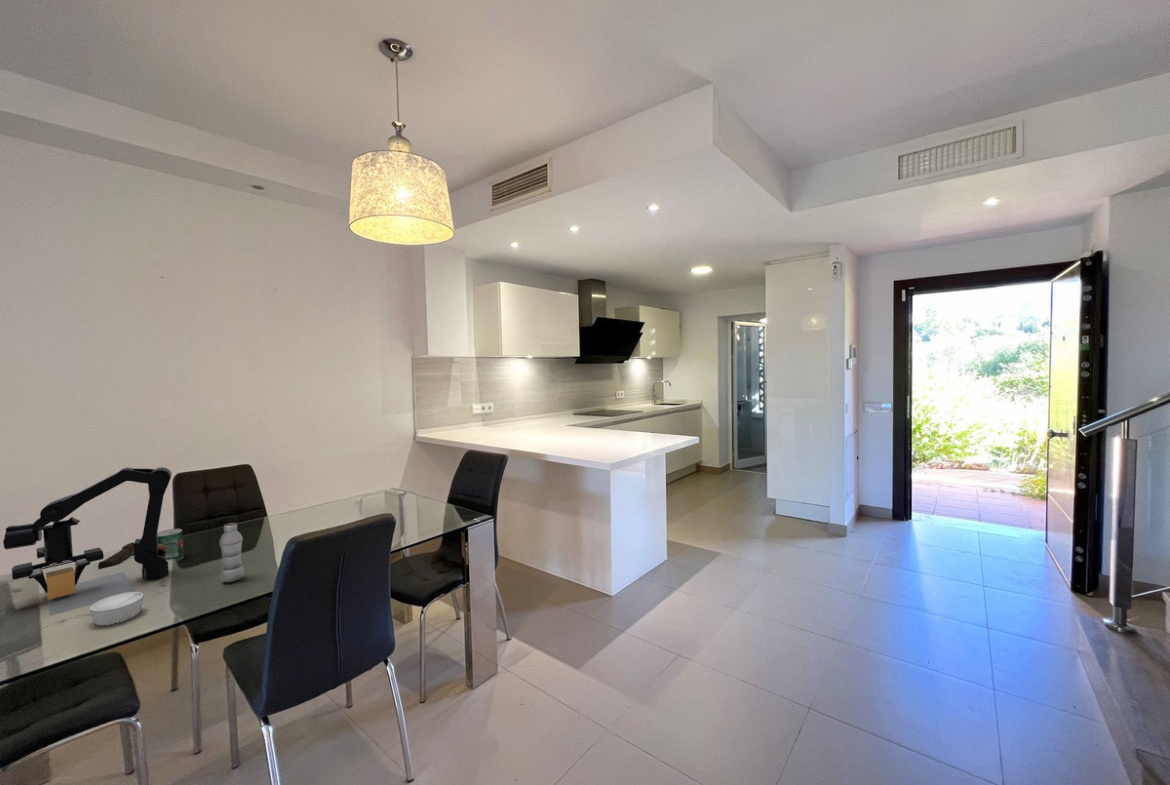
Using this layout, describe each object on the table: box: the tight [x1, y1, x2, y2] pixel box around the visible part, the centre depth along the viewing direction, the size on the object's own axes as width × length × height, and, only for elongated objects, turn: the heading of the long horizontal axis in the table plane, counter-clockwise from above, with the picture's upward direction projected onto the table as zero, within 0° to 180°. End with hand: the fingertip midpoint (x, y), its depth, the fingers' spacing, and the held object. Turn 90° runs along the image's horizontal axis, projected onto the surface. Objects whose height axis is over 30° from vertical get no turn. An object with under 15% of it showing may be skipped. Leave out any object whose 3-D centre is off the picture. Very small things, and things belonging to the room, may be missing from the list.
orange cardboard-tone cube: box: [45, 566, 76, 600], centre depth 143 cm, size 6×6×7 cm
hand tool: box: [97, 541, 134, 570], centre depth 174 cm, size 19×4×5 cm, turn 18°
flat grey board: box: [44, 571, 137, 616], centre depth 147 cm, size 24×18×2 cm
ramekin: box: [88, 591, 145, 626], centre depth 134 cm, size 11×11×5 cm
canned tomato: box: [157, 528, 185, 561], centre depth 175 cm, size 8×8×11 cm
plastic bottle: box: [219, 522, 245, 583], centre depth 157 cm, size 6×7×20 cm
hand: (61, 588), depth 143 cm, fingers closed on orange cardboard-tone cube, 5 cm apart
